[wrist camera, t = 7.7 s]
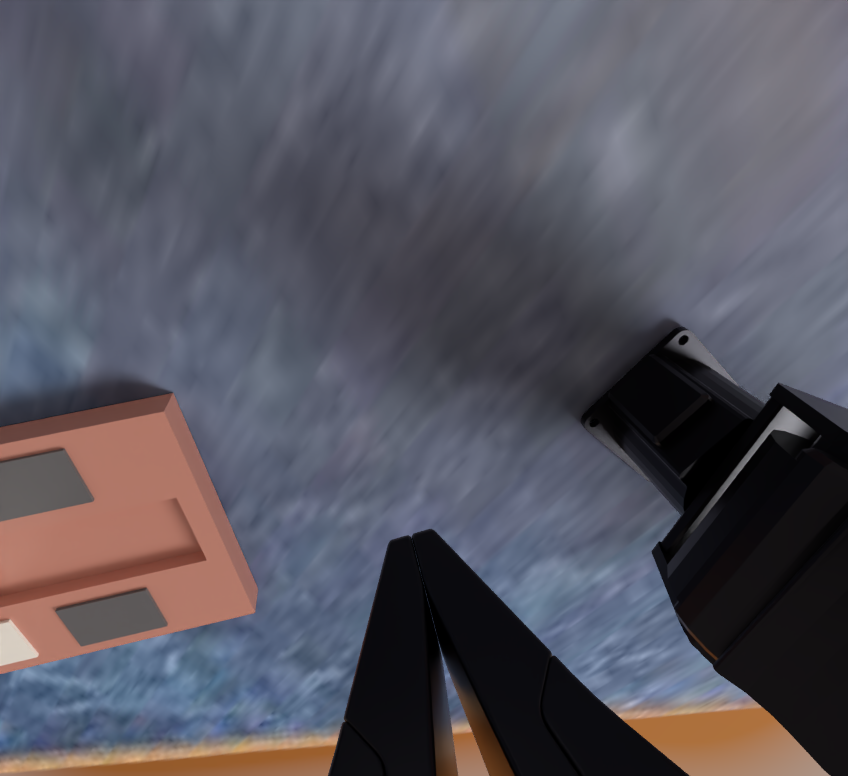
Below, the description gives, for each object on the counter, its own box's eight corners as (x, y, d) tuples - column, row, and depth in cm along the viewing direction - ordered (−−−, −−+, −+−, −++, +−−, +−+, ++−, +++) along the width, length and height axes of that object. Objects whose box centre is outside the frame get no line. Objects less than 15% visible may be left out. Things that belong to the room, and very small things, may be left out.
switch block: (173, 392, 21) (162, 413, 20) (258, 588, 27) (254, 615, 26) (-313, 489, 20) (-362, 519, 18) (-110, 675, 26) (-135, 709, 24)
